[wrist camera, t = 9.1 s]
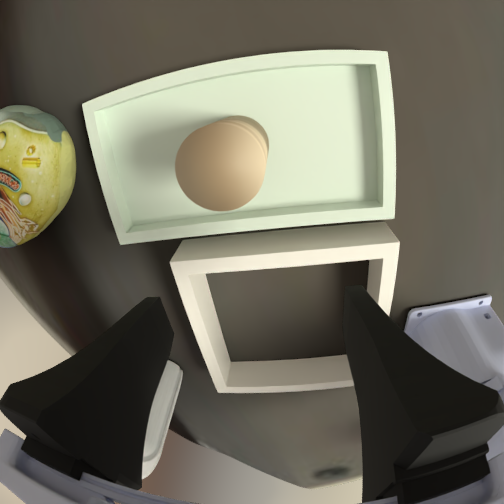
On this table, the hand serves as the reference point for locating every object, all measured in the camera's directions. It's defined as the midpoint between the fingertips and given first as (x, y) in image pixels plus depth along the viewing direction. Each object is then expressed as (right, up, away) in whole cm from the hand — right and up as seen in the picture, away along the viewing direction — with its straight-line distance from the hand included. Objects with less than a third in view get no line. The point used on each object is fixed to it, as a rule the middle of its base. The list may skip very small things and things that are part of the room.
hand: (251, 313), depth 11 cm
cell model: (-19, +9, +8) cm, 22 cm away
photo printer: (-10, -12, +19) cm, 25 cm away
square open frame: (+3, -2, +12) cm, 12 cm away
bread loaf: (-1, +9, +5) cm, 10 cm away
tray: (-1, +9, +6) cm, 11 cm away
